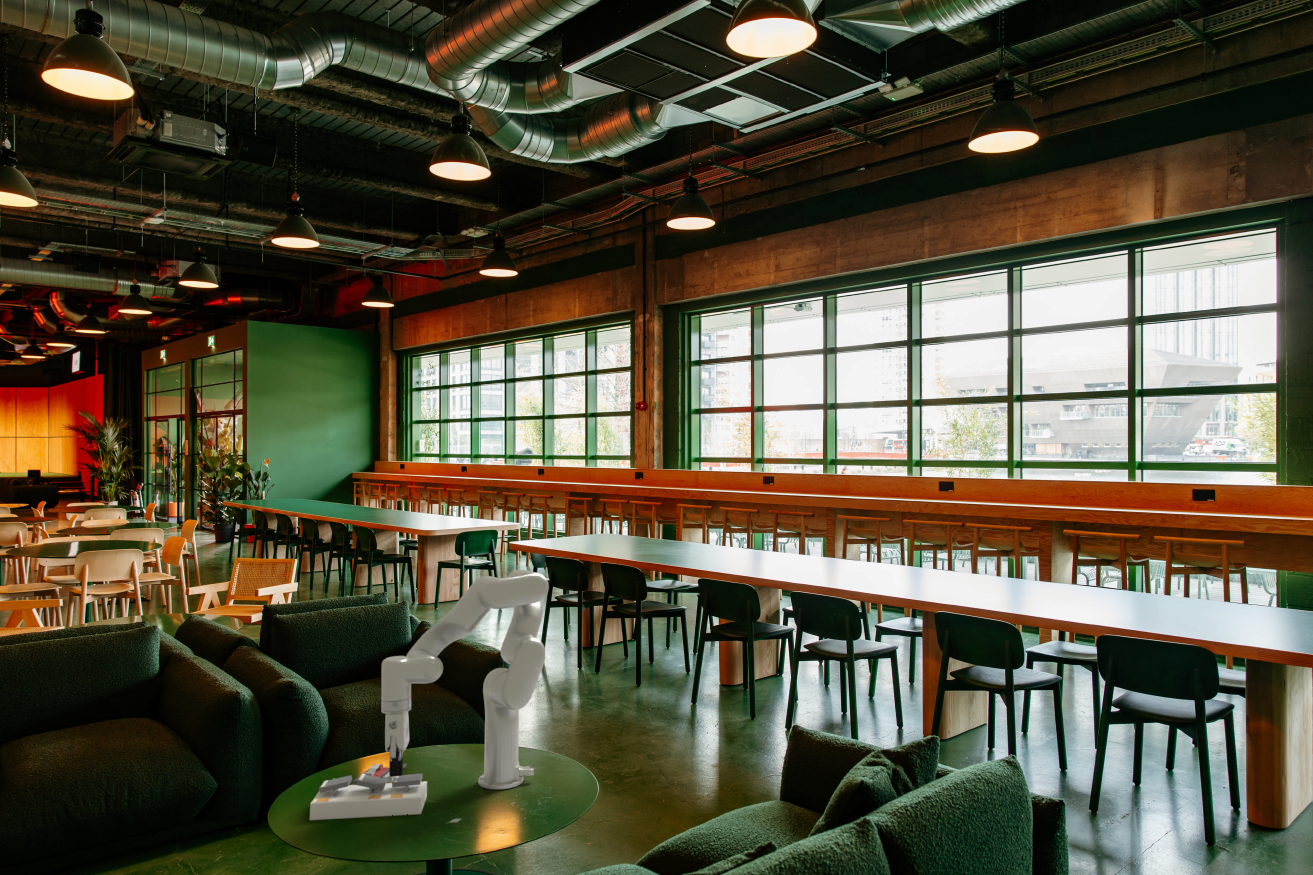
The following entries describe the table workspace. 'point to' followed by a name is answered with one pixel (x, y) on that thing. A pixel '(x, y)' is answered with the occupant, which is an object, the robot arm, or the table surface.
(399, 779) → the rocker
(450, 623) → the robot arm
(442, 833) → the table surface
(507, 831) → the table surface
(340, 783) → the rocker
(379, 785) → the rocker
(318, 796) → the switch unit
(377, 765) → the walkie-talkie
